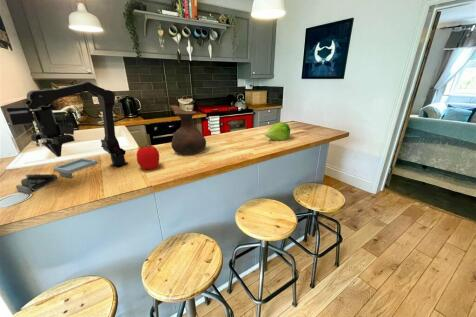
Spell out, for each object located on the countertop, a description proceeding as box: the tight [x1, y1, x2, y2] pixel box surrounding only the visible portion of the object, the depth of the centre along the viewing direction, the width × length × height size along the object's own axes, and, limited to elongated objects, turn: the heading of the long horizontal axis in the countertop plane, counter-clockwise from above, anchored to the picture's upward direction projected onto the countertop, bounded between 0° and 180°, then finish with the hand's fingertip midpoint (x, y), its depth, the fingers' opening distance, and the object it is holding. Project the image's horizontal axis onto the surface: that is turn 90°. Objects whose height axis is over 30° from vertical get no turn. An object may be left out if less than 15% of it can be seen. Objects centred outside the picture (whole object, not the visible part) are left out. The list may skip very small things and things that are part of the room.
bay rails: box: [15, 171, 74, 195], centre depth 92 cm, size 8×17×3 cm, turn 159°
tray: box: [53, 157, 99, 174], centre depth 110 cm, size 12×15×2 cm
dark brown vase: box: [169, 105, 207, 156], centre depth 127 cm, size 22×22×30 cm
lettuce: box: [264, 121, 291, 142], centre depth 151 cm, size 15×22×15 cm, turn 115°
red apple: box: [136, 143, 160, 170], centre depth 107 cm, size 12×12×13 cm
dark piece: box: [20, 173, 59, 192], centre depth 90 cm, size 10×7×12 cm
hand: (59, 156), depth 90 cm, fingers closed
